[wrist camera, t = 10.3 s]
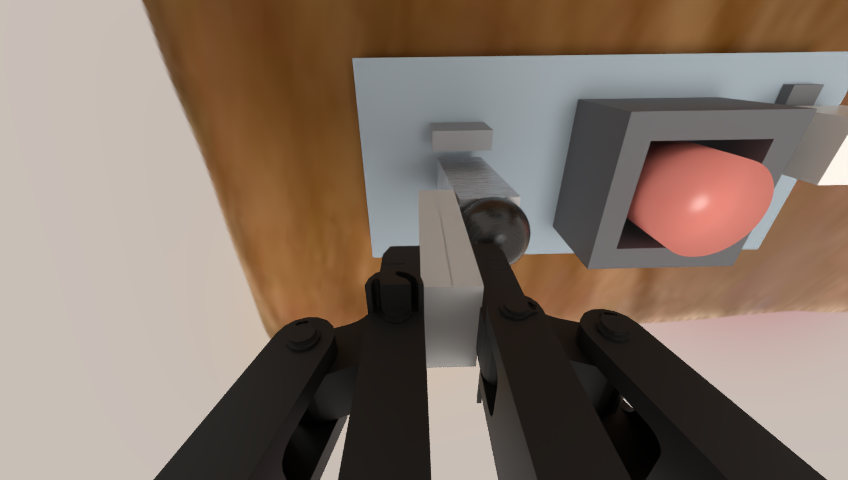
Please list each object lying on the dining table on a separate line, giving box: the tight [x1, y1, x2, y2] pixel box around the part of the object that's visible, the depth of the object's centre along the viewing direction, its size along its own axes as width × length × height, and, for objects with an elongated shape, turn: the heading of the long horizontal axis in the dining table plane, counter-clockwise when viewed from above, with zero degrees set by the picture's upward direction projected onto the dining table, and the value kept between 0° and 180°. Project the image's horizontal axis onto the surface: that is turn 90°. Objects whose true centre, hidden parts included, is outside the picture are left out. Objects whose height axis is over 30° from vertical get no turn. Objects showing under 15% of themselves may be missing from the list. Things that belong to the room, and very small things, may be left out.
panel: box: [352, 52, 848, 269], centre depth 19 cm, size 12×27×8 cm, turn 91°
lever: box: [437, 157, 531, 265], centre depth 15 cm, size 3×3×8 cm
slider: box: [782, 105, 848, 185], centre depth 16 cm, size 3×4×4 cm
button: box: [626, 140, 774, 257], centre depth 16 cm, size 5×5×6 cm
